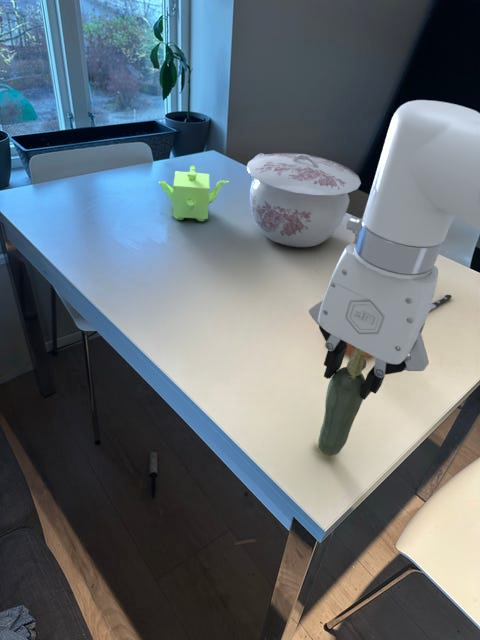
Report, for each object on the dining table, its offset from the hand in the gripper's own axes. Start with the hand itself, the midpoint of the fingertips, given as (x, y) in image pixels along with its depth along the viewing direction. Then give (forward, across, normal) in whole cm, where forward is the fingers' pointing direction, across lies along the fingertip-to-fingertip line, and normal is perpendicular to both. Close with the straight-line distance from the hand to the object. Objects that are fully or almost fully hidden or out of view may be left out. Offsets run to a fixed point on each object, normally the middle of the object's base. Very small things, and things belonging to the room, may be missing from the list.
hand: (349, 381), depth 53 cm
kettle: (+15, -66, +44) cm, 81 cm away
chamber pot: (+15, -41, +55) cm, 70 cm away
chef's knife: (+15, -3, +47) cm, 49 cm away
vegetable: (+15, 0, 0) cm, 15 cm away
